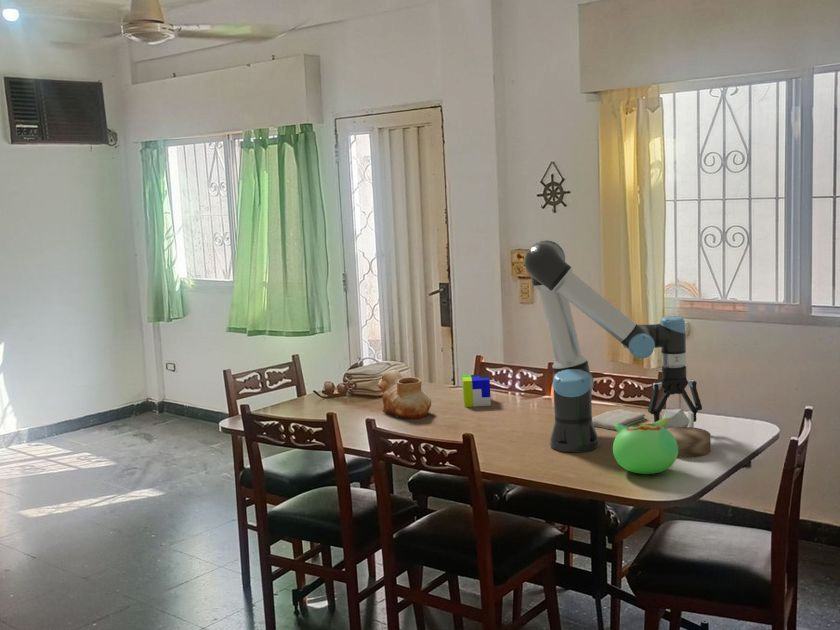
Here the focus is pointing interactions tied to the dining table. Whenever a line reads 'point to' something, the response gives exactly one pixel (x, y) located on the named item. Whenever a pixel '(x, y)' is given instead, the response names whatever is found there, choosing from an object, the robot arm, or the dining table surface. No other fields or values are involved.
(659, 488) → the dining table surface
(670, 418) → the die
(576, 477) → the dining table surface
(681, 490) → the dining table surface
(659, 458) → the green eared pot
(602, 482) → the dining table surface
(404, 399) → the ceramic vessel
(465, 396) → the puzzle toy
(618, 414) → the washcloth
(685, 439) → the plinth
